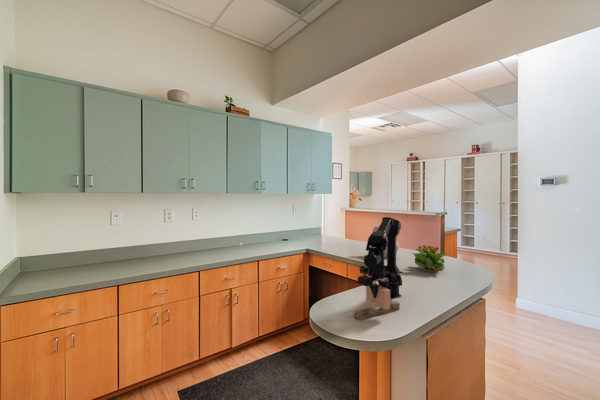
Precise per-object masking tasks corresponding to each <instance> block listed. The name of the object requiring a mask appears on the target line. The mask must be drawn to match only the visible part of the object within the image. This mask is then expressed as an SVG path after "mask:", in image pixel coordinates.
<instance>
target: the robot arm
mask: <svg viewBox="0 0 600 400" xmlns="http://www.w3.org/2000/svg"><path fill="white" fill-rule="evenodd" d="M401 229H402V223H401V221H400V220H398V219H395V218H394V217H390V216H383V217H382V219H381V223H380V224H379V226H378V230H377V231H375V232H373V233H372V232H371V234H370V235H369V236H368V238H367V243H366V248H365V251H367V254H366V255H365V256H364V257H363V263H364V265H362V266H359V273H360V274H363V275H361V276H357V284H359V285H362V286H363V287H366V286H369V287H370V289H371V291H372V294H373V297H374V298H376V297H377V291H378V286H379V285H380V286H382V287H384V288H387V289H389V290H390V299H395V298H399V297H402V294H400V287H401V286H403V280H402V275H401V274H400V269H399V267H398V266H397V252H396V241H397V239H398V238H397V237H398V235H399V234H400V232H401ZM386 236H387V238H386ZM386 248H387V257H386V265H385V257H384V252H385V250H386ZM377 283H378V284H377Z"/></svg>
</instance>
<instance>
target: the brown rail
mask: <svg viewBox="0 0 600 400" xmlns="http://www.w3.org/2000/svg"><path fill="white" fill-rule="evenodd" d="M398 310H400V302H398V301H397V300H395V301H390V308H389V309H386V310H385V309H383V308H381V307H379V308H374V307H372V306H370V307H366V308H361V309H357V310H355V311H354V316H353V317H354V319H355V320H356V321H361V320H365V319H369V318H373V317H376V316H380V315H384V314H388V313H392V312H394V311H398Z"/></svg>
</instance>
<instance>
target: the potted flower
mask: <svg viewBox="0 0 600 400" xmlns="http://www.w3.org/2000/svg"><path fill="white" fill-rule="evenodd" d="M439 249H440V248H439V246H438V247H437V246H434V245H426V244H423V245H422V246H421V245H418V246H417V248H416V249H414V250H415V251H418V252H415V253H414V252H412V255H413V256H414V257H415V258H414V263H415V265H416V266H417V267H419V268H421V269H423V271H425V272H428V273H437V272H438V271H443V270H444V269H445V268H446V265H445V263H446V262H445V259H444V258H443V257H444V256H446V255H449V252H440V253H439ZM437 252H438V253H437Z"/></svg>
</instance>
